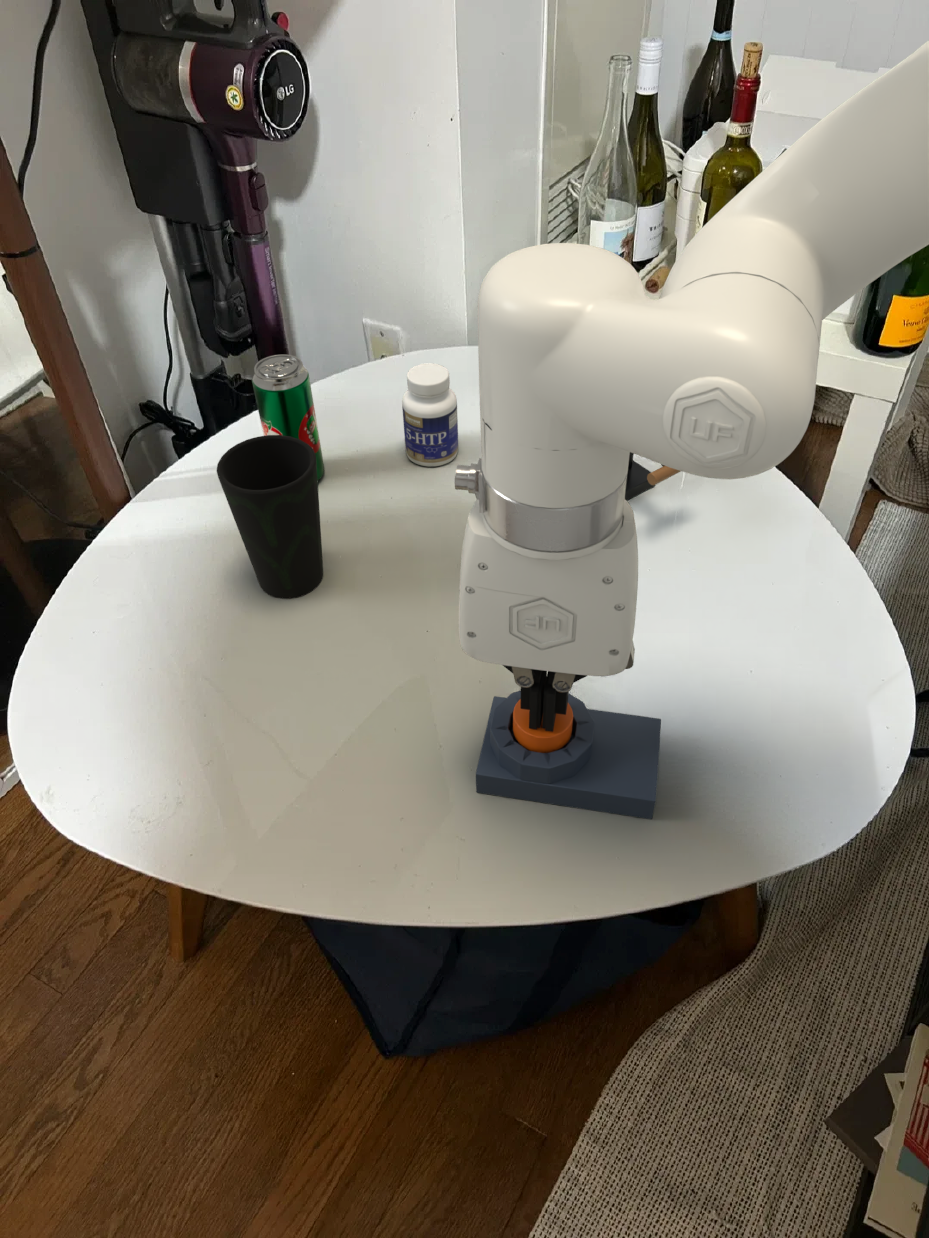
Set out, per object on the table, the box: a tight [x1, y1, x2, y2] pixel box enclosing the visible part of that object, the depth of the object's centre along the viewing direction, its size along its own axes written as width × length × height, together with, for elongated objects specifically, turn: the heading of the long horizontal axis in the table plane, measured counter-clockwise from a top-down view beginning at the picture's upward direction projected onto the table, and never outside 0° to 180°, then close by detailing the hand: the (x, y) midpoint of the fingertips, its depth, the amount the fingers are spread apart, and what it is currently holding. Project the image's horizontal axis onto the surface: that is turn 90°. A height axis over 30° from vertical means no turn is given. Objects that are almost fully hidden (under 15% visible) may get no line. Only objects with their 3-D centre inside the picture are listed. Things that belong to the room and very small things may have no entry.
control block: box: [475, 690, 662, 820], centre depth 64 cm, size 12×7×4 cm, turn 79°
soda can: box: [251, 354, 325, 481], centre depth 86 cm, size 5×5×12 cm
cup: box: [216, 435, 324, 600], centre depth 76 cm, size 8×8×12 cm
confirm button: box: [513, 699, 573, 753], centre depth 62 cm, size 4×4×2 cm
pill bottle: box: [401, 362, 459, 467], centre depth 89 cm, size 5×5×9 cm
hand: (544, 713), depth 62 cm, fingers closed
